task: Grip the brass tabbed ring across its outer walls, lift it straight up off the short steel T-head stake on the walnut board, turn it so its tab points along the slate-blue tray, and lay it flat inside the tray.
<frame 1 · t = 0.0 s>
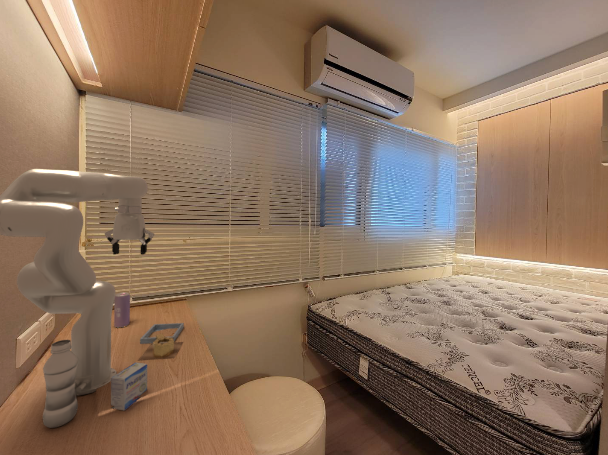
hand: (129, 254, 102), 37 cm above the table, tool pointing down, fingers open, 9 cm apart
ring: (163, 353, 97), point 1 cm above the table, touching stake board
medicine box: (129, 400, 73), on the table
tray: (163, 337, 111), on the table
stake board: (162, 353, 98), on the table
plastic bottle: (60, 422, 65), on the table
beverage can: (122, 326, 122), on the table
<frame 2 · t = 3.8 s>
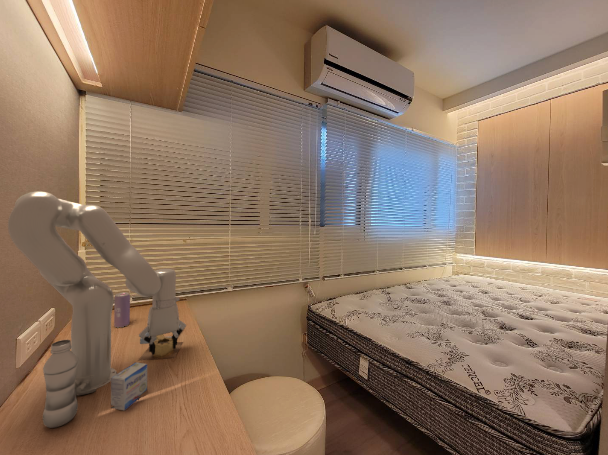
hand: (163, 349, 97), 2 cm above the table, tool pointing down, fingers closed on ring, 6 cm apart
ring: (163, 353, 97), point 1 cm above the table, touching gripper, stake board
everything else where it was.
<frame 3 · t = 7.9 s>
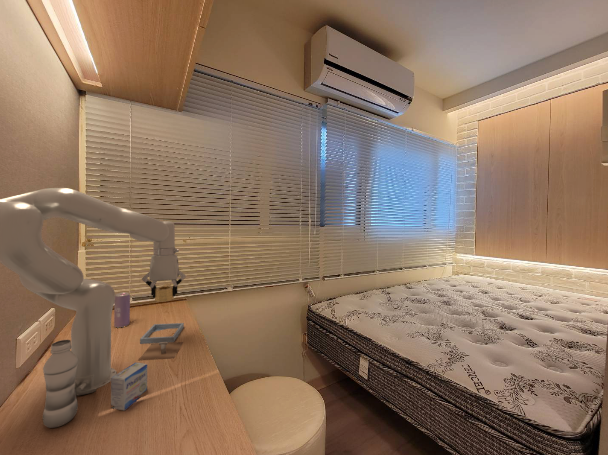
hand: (164, 295, 104), 20 cm above the table, tool pointing down, fingers closed on ring, 6 cm apart
ring: (164, 298, 104), point 19 cm above the table, touching gripper
everything else where it was.
when the fingers open (4 cm above the table, at t = 11.8 s): ring drops 2 cm, resting on tray.
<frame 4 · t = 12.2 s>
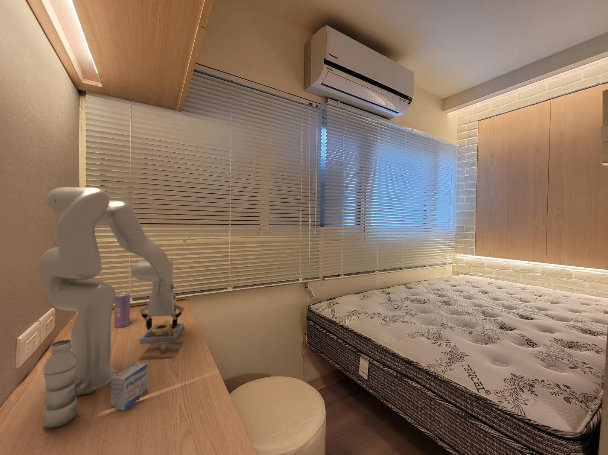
hand: (161, 328, 109), 5 cm above the table, tool pointing down, fingers open, 9 cm apart
ring: (161, 337, 109), point 1 cm above the table, touching tray
everything else where it was.
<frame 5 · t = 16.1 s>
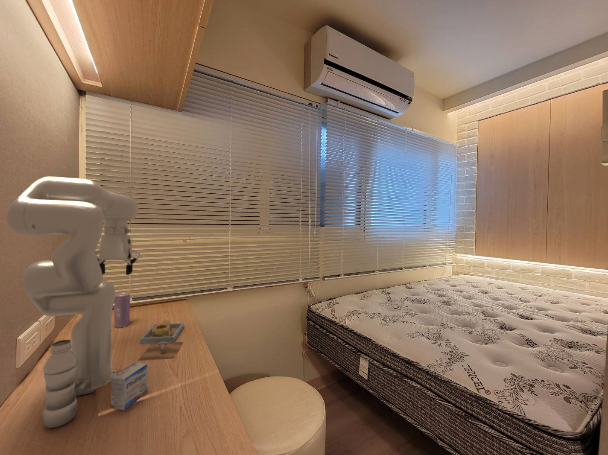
hand: (115, 274, 104), 28 cm above the table, tool pointing down, fingers open, 9 cm apart
nothing on the table moved.
at the end: ring 0.2 cm from the target spot on the tray, point 0.8 cm above the tray's base; ring tilted 0°; the gripper is holding nothing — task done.
